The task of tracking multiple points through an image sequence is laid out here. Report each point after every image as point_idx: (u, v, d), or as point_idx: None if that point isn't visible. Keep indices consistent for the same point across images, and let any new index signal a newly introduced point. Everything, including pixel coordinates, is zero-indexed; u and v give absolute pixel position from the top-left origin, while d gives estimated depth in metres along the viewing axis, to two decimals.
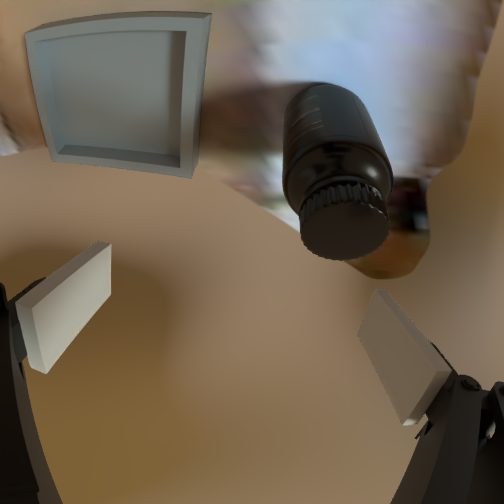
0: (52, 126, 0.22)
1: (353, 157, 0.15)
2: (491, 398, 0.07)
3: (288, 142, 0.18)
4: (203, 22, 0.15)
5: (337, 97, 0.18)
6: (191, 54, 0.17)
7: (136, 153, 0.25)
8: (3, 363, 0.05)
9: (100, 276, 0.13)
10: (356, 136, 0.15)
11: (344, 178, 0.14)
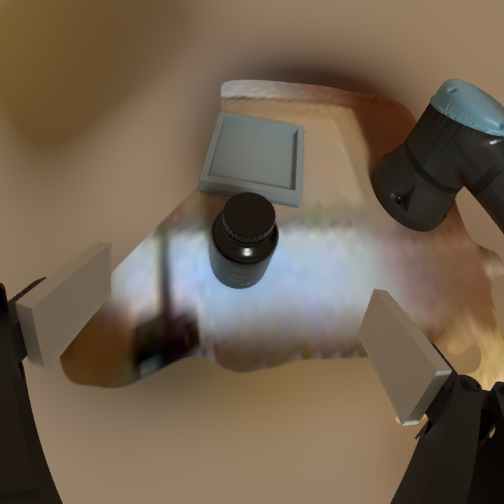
0: (243, 120, 0.47)
1: (275, 230, 0.30)
2: (491, 398, 0.07)
3: None
4: (299, 198, 0.41)
5: None
6: (282, 191, 0.41)
7: (214, 157, 0.43)
8: (3, 363, 0.05)
9: (100, 276, 0.13)
10: (277, 239, 0.31)
11: None
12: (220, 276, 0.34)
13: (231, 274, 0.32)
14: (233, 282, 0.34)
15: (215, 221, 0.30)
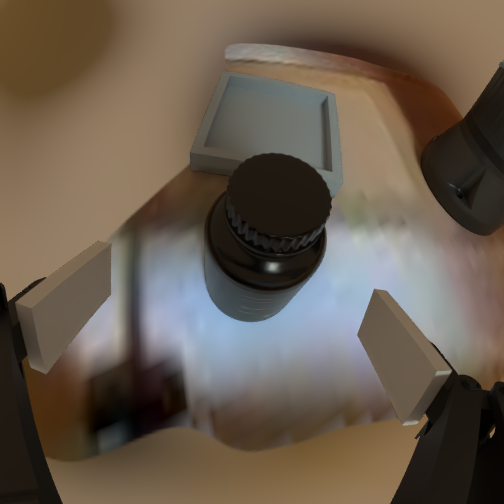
0: (254, 82, 0.33)
1: None
2: (491, 398, 0.07)
3: None
4: (339, 183, 0.27)
5: None
6: None
7: (213, 124, 0.29)
8: (3, 363, 0.05)
9: (100, 276, 0.13)
10: None
11: None
12: (220, 303, 0.21)
13: (240, 303, 0.18)
14: (242, 314, 0.20)
15: (212, 209, 0.16)
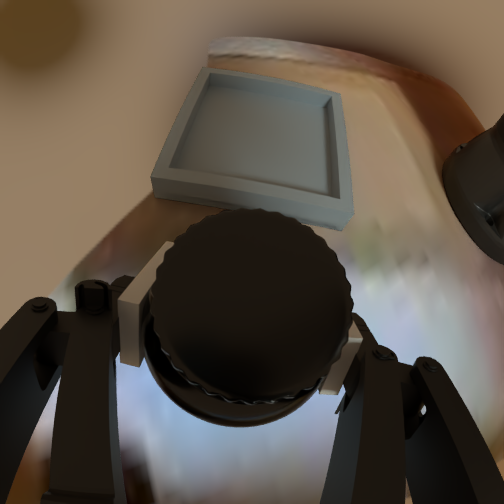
0: (240, 80, 0.26)
1: None
2: (415, 376, 0.08)
3: None
4: (348, 214, 0.20)
5: None
6: (317, 199, 0.20)
7: (186, 135, 0.23)
8: (99, 363, 0.06)
9: None
10: None
11: None
12: None
13: None
14: None
15: (150, 297, 0.10)
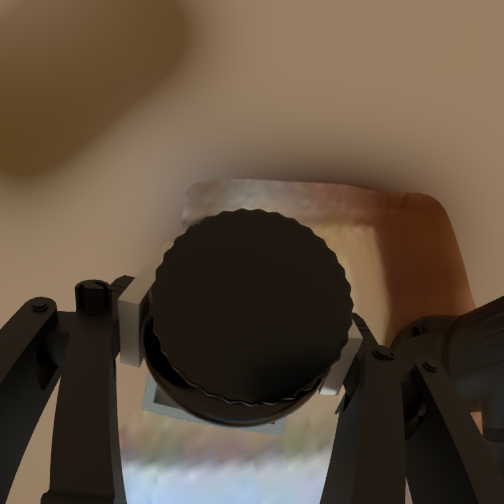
0: None
1: None
2: (415, 376, 0.08)
3: None
4: None
5: None
6: None
7: None
8: (99, 363, 0.06)
9: None
10: None
11: None
12: None
13: None
14: None
15: (150, 297, 0.09)
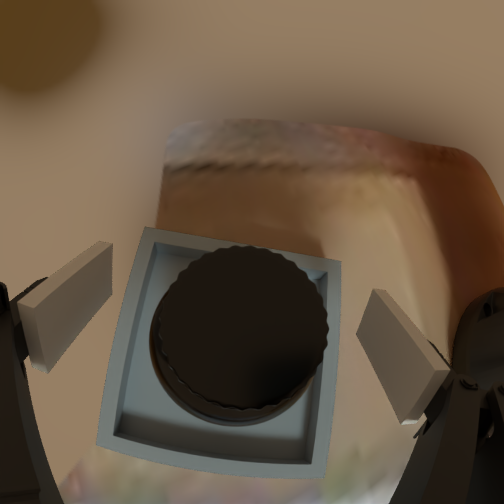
0: (198, 251, 0.21)
1: None
2: (490, 397, 0.07)
3: None
4: (318, 477, 0.15)
5: None
6: (283, 470, 0.15)
7: (128, 367, 0.17)
8: (4, 363, 0.05)
9: (101, 276, 0.13)
10: None
11: None
12: None
13: None
14: None
15: (157, 315, 0.11)
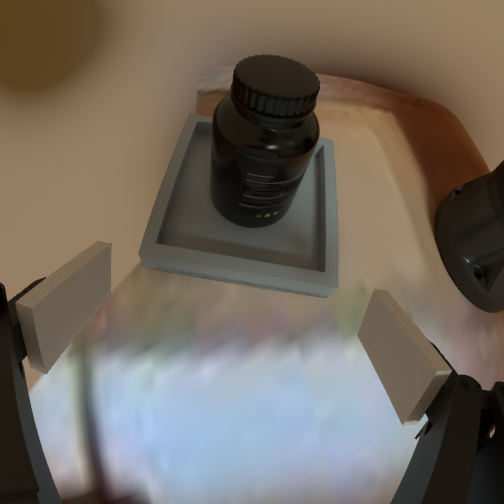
0: None
1: (314, 117, 0.17)
2: (491, 398, 0.07)
3: None
4: (332, 287, 0.21)
5: None
6: (302, 274, 0.21)
7: (173, 199, 0.24)
8: (3, 363, 0.05)
9: (100, 276, 0.13)
10: None
11: None
12: (224, 203, 0.22)
13: (243, 190, 0.19)
14: (244, 211, 0.21)
15: (220, 102, 0.17)
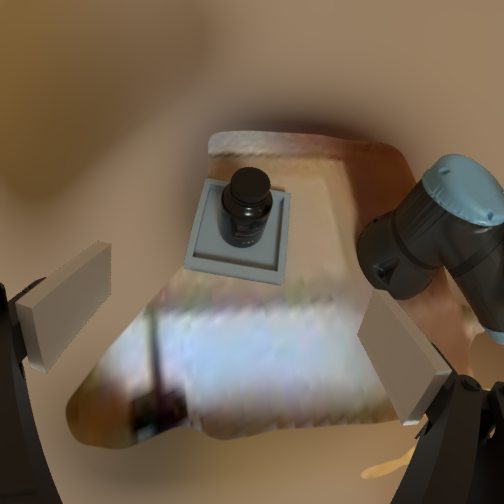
0: None
1: (270, 197, 0.39)
2: (491, 398, 0.07)
3: None
4: (281, 279, 0.43)
5: None
6: (265, 272, 0.43)
7: (199, 232, 0.45)
8: (3, 363, 0.05)
9: (100, 276, 0.13)
10: (272, 205, 0.40)
11: None
12: (226, 236, 0.43)
13: (236, 231, 0.41)
14: (237, 240, 0.43)
15: (224, 189, 0.39)
